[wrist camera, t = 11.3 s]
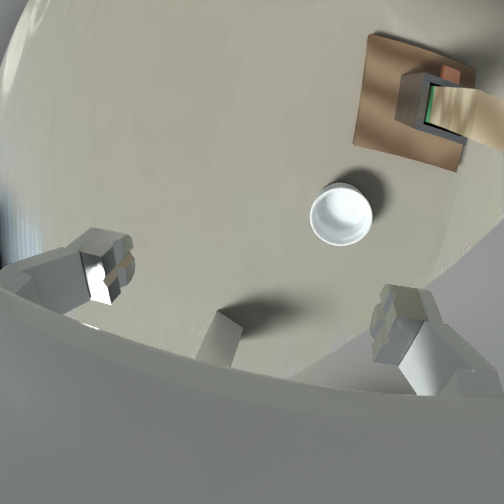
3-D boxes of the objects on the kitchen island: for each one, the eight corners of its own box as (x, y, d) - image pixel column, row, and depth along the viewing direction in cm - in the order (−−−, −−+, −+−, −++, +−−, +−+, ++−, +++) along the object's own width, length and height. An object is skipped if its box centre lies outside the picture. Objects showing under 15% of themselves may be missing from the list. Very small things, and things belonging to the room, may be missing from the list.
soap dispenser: (235, 348, 66) (205, 436, 47) (201, 326, 64) (161, 411, 46) (252, 334, 62) (224, 427, 44) (216, 310, 61) (176, 400, 42)
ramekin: (374, 225, 46) (378, 238, 43) (320, 239, 49) (319, 252, 46) (360, 171, 43) (364, 180, 39) (303, 187, 46) (301, 197, 42)
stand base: (367, 36, 33) (370, 34, 31) (470, 69, 31) (475, 69, 29) (352, 142, 41) (354, 145, 39) (451, 168, 39) (456, 172, 37)
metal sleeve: (402, 64, 32) (425, 58, 23) (444, 78, 31) (477, 78, 23) (394, 119, 36) (415, 129, 27) (435, 131, 35) (465, 145, 27)
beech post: (421, 85, 28) (478, 88, 16) (451, 96, 28) (517, 107, 15) (415, 117, 30) (469, 139, 18) (445, 127, 30) (508, 155, 17)
